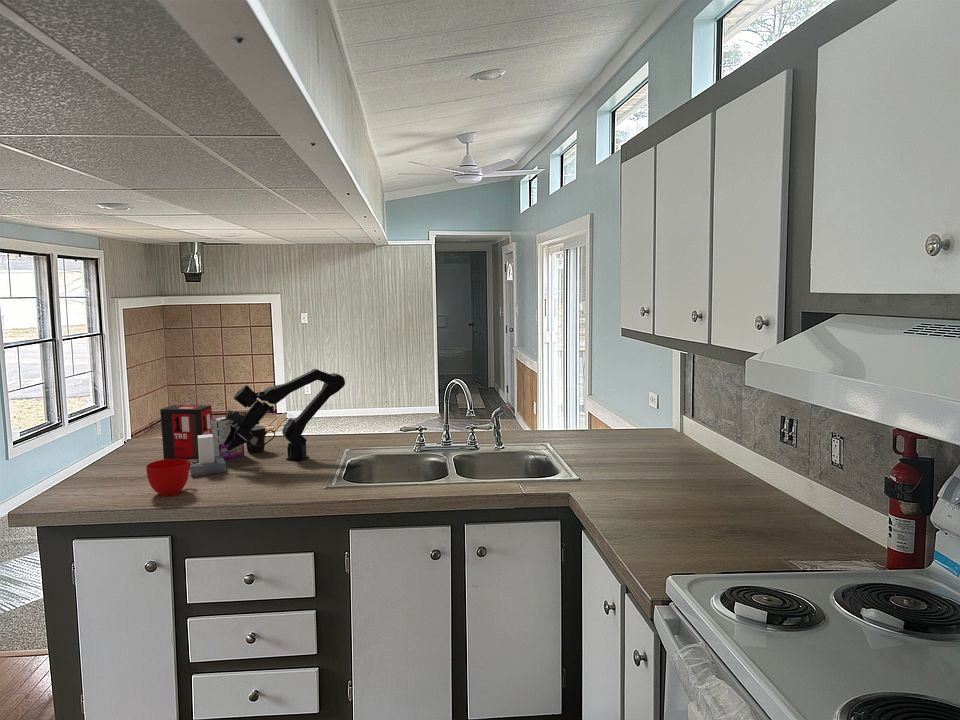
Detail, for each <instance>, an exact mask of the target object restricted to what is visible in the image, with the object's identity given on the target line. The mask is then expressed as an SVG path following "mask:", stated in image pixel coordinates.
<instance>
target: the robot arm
mask: <svg viewBox="0 0 960 720" xmlns="http://www.w3.org/2000/svg"><path fill="white" fill-rule="evenodd" d="M315 381H319V382H323V384H322V387H321V389H320V391H319V392H318V393H317V394H316V395H315V396H314V397H313V399H312V400H311V401H310V402H309V403H308V405H307V406H306V407H305V408H304V409H303V410H302V411H301V412H300V414H299V415H298V416H297V417H296V418H294V419H292V417H289V418H288V420H287V422H285V424H283V425H282V426H283V427H282V429H281V430H282V434H281V435H283V437H284V438H285V439H286V440H287V441H288V442H289V443H287V449H286V450H287V457H286V459H285V460H286V461H296V462H300V461H304V460H305V459H308V458H310V455H308V454H307V438H305V437H304V436H303V433H304V430H305V428H306V427H307V424H308V423H309V422H310V421H311V419H312V418H313V417H314V416H315V414H316V413H317V412H318V411H319V410H320V409H321V408H322V407H323V405H324V404H325V403H326V402H327V401H328V400H329V398H330V397H331V396H334V395H335V394H337V393H338V392H340V391H341V390H342V389H343V388H344V386H345V385H346V380H345V378H344V376H343V375H341V374H338V373H335V372H334V373H329V372H325V371H321V370H319V369H317V368H313V369H311V370H310V371H308V372H306V373H304V374H301V375H300V376H298V377H296V378H294V379H291V380H289V381H287V382H286V383H282V384H277V385H273V386H269V387H267V388H265V390H262V391H258V392H256V391H254V390H252V388H251V387H250V386H249V385H247V384H245V385H244V386H243V387H242V388H240V389H239V390H237V392H236V393H235V395H234V396H233V399H234V400H235V401H236V402H238V404H240V405H241V406H242V407H244V408H249V410H247V411H244V412H243V413H240V412H239V411H237V410H231V409H228V410H227V411H226V414H225V416H224V417H225V418H226V419H227V420H232V422H231V424H232V425H230V433H229V435H228V436H227V438H226V440H225V442H224V445H225V446H226V445H228V444H229V446H228V447H227V450H228V451H230V450H232V449H234V448H236V447H238V446H240V445H242V444H244V445H245V444H246V443H247V442H248V441H249V442H250V441H251V439H252V438H253V434H252V433H251V432H252V431H251V430H252V429H253V428H254V427H255V426H258V425H260V421H261V420H262V419H263V418H264V416H266V415H267V414H268V412H270V413H271V414H275V410H274V408H275V406H274V405H275V404H278V403H280V402H281V401H282V400H284V399H285V398H286V397H287V396H288V395H289V394H291V393H293V392H295V391H297V390H299V389H302V388H303V387H305V386H307V385H310V384H312V383H314V382H315ZM260 400H261V401H260ZM268 403H269V404H271V405H269V404H268ZM247 440H248V441H247Z"/></svg>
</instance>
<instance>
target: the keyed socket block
mask: <svg viewBox="0 0 960 720" xmlns="http://www.w3.org/2000/svg"><path fill="white" fill-rule="evenodd" d="M214 458H215V462H213V463H205V464H198V463H199V458H198V459H187V460H188V461H189V462H190V469H189V475H190V474H191V475H190V477H191V476H193V477H197V476H196V475H200V476H203V475H202V474H208V475H211V474H210V473H216V474H220V473H219V472H223V473H227V466H226V465H227V464H226V460H224V459H223V457H222V456H214Z"/></svg>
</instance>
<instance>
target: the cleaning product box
mask: <svg viewBox="0 0 960 720" xmlns="http://www.w3.org/2000/svg"><path fill="white" fill-rule="evenodd" d="M159 411H160V422H161V423H160V424H161V425H160V426H161V427H160V428H161V437H162V440H161V441H162V451H163V452H162V453H163V460H165V459H186V460H189V459H198V458H199V452H198V435H207V434H212V429H211V419H213V415H212V413H213V412H212V405H210V404H209V405H208V404H207V405H206V404H205V405H204V404H203V405H200V404H199V405H196V404H195V405H194V404H193V405H189V404H188V405H185V404H183V405H181V404H178V405H177V404H176V405H173V404H172V405H169V406H167V407H163V408H160V409H159Z"/></svg>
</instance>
